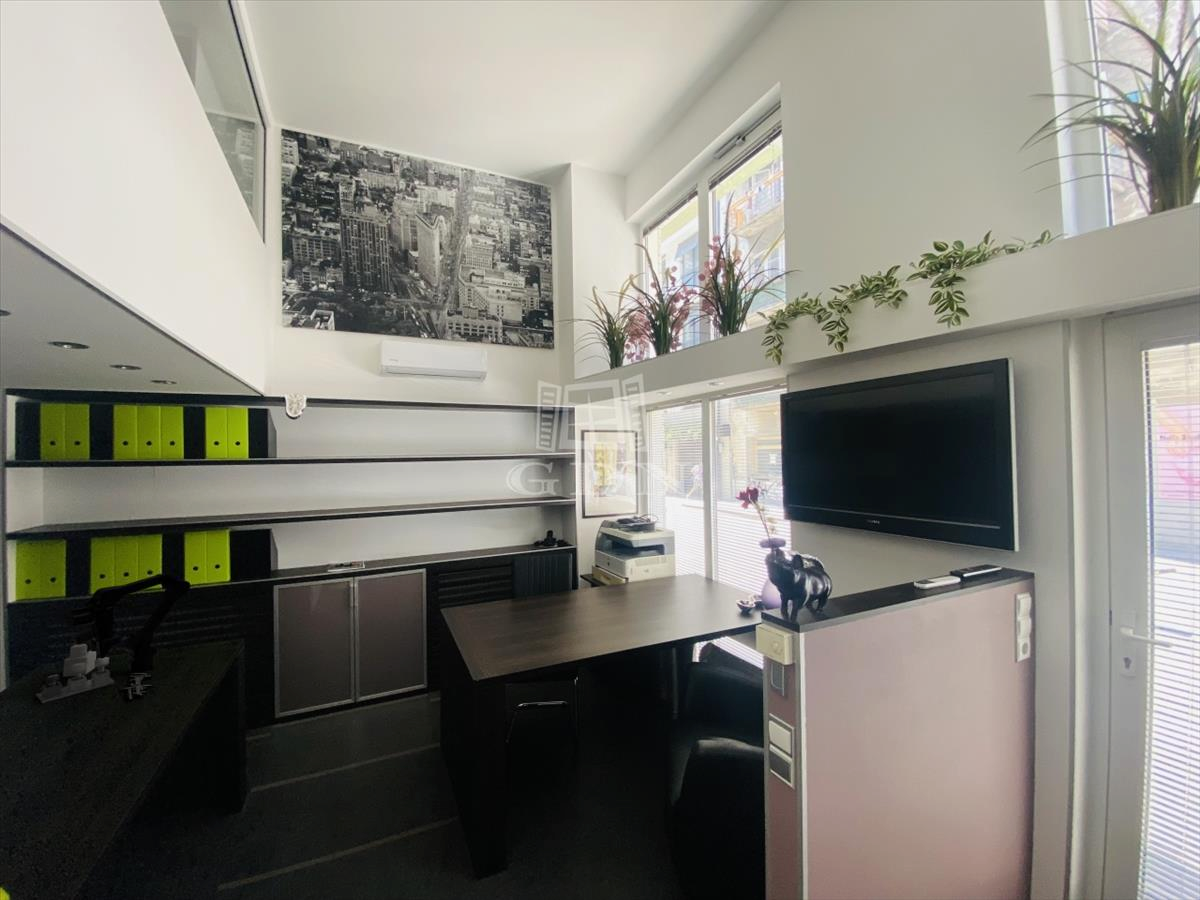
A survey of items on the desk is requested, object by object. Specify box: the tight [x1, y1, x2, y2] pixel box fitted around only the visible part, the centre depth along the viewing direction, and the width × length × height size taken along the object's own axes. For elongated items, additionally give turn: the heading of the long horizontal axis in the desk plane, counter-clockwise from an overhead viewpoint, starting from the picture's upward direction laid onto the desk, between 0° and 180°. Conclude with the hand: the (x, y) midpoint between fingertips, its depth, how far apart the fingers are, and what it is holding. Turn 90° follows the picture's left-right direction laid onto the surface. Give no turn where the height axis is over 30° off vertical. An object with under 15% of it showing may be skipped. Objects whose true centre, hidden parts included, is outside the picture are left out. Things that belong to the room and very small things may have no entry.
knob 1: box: [70, 663, 86, 681], centre depth 182 cm, size 4×4×6 cm
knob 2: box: [94, 656, 110, 674], centre depth 188 cm, size 4×4×6 cm
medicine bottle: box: [62, 641, 97, 678], centre depth 196 cm, size 7×7×12 cm
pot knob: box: [45, 673, 60, 687], centre depth 177 cm, size 3×3×4 cm
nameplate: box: [118, 672, 154, 703], centre depth 185 cm, size 27×2×10 cm
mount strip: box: [36, 668, 115, 704], centre depth 182 cm, size 19×9×4 cm, turn 149°
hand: (102, 658), depth 188 cm, fingers closed
